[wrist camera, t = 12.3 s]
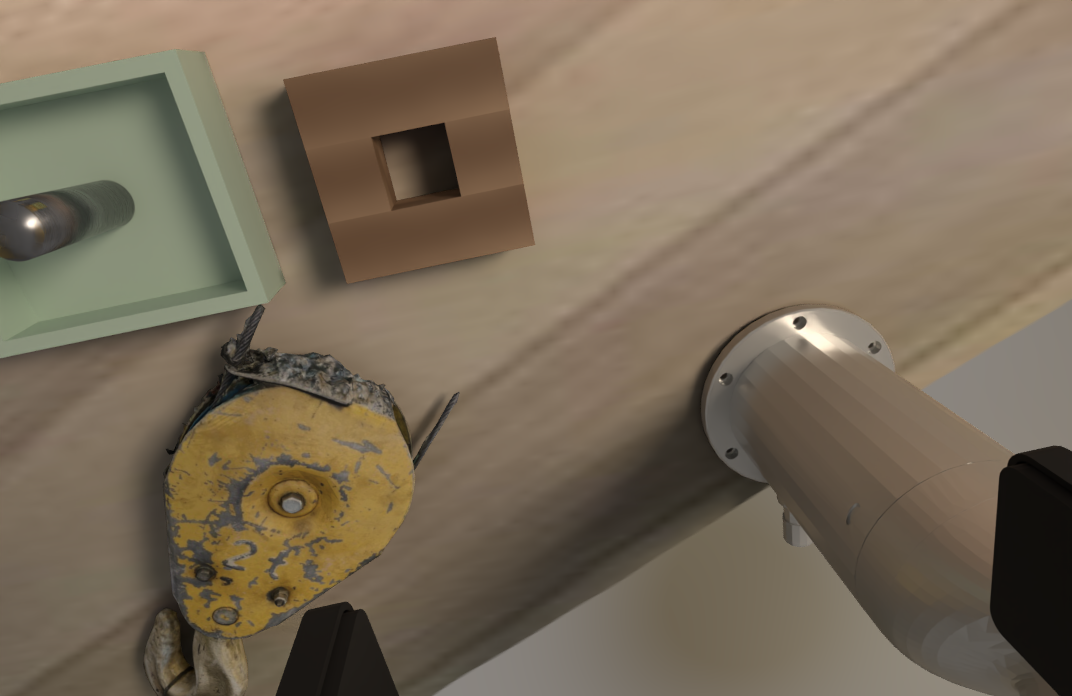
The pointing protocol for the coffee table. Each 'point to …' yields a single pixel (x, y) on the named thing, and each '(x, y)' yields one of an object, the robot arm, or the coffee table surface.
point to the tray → (156, 188)
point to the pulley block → (273, 504)
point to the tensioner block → (362, 173)
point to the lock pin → (61, 218)
